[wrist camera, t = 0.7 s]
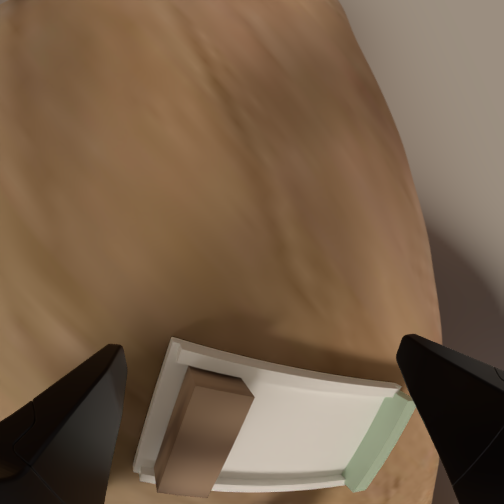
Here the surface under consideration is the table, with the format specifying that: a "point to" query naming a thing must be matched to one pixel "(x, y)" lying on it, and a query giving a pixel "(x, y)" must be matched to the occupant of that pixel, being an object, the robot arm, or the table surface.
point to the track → (286, 423)
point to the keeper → (201, 432)
